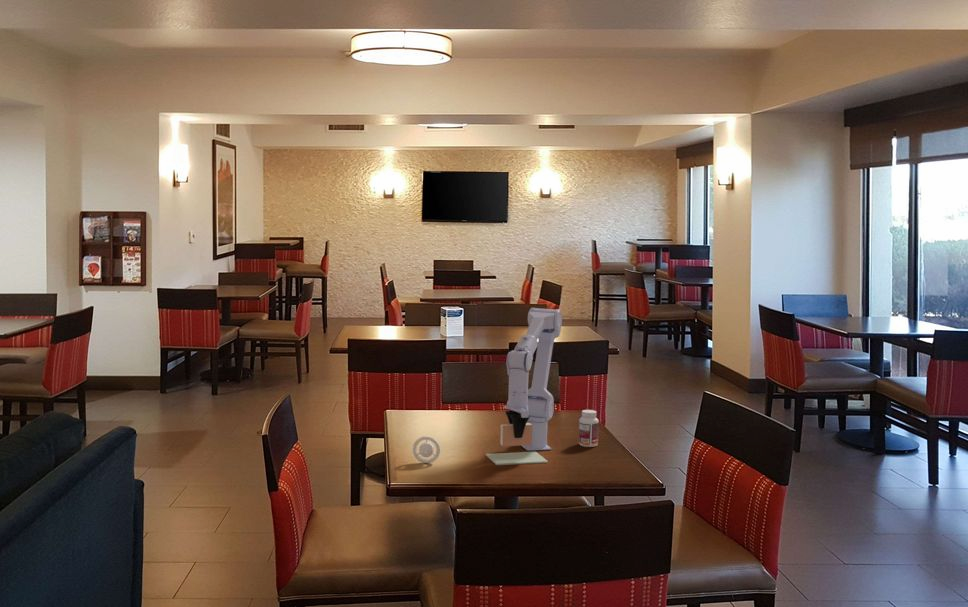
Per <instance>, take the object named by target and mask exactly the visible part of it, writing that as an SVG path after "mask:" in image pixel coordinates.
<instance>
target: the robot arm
mask: <svg viewBox="0 0 968 607" xmlns="http://www.w3.org/2000/svg"><path fill="white" fill-rule="evenodd" d="M562 323H563V316H562V311H561V310H560V309H559V308H558V309H553V308H538V307H537V308H536V307H531V308H530V309H529V311H528V313H527V324H528V327H527V330H526V333H525V334H523V335H521V337H520V338H519V339H518V342H517V344H516V345H515V347H514V350H511V351H509V352H508V353H507V356H506V360H505V361H506V370H507V374H506V375H507V376H508V400H507V401H506V405H504V406H503V408H504V409H505V410H507V411H505V412H504V413H505V414H506V417H507V420H508V424H513V428H514V436H515V438H522V436H523V432H524V429H525V425H526V423H530V424H532V445H520V446H521V447H522V448H523V449H525V450H526V452H533V451H549V450H550V451H551V450H552V447H550V446H549V445H548V422H549V421H550V420H551V419H552V418H553V415H554V412H555V410H554V409H555V406H554V402H555V399H554V395H553V394H552V393H551V392H550V391H549V390H547V388H548V381H549V376H550V369H551V368H550V367H551V363H552V362H551V361H552V356H553V349H554V343H555V339H557V338H559V337H560V334H561V331H562ZM535 351H536V355H535V361H534V368H533V375H532V380H531V387H530V388H529V375H530V374H529V371H530V370H531V368H532V366H533V365H532V364H533V360H534V353H535Z"/></svg>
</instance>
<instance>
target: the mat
mask: <svg viewBox="0 0 968 607" xmlns="http://www.w3.org/2000/svg"><path fill="white" fill-rule="evenodd" d="M485 456H486V457H487V458H488V459H489V460H490V461H491V462H492V463H493V464H494V465H495V466H504V465H505V466H507V465H508V466H509V465H527V464H544V463H548V462H549V461H548V460H547V459H546V458H545V457H544V456H542V455H541V454H539V453H538V452H537V451H521V452H520V451H519V452H518V451H517V452H502V453H501V452H499V453H496V452H495V453H486V454H485Z"/></svg>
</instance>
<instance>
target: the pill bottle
mask: <svg viewBox="0 0 968 607" xmlns="http://www.w3.org/2000/svg"><path fill="white" fill-rule="evenodd" d="M599 423H600V422H599V419H598V418H597V410H593V409H583V410H581V417H580V418H579V420H578V426H579V427H578V445H580V446H581V447H584V448H594V447H597V446H598V444H599Z"/></svg>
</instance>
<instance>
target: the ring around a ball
mask: <svg viewBox="0 0 968 607" xmlns="http://www.w3.org/2000/svg"><path fill="white" fill-rule="evenodd" d="M422 441H423V442H422ZM424 441H425V442H424ZM428 441H429V442H428ZM421 442H422V443H421ZM430 442H431V443H430ZM420 443H421V444H420ZM419 444H420V445H419ZM433 444H434V446H435V447H434V446H433ZM418 445H419V448H418ZM417 448H418V451H419V452H417ZM434 448H436V451H435V453H434V450H435V449H434ZM412 453H413V456H414V458H415V459H416V460H417V461H418V462H420V463H423V464H430V463H433V462H435V461H436V460H437V459H438V458H439V456H440V453H441V446H440V444H439V442H438V441H437V440H436V439H435V438H434V437H431V436H421V437H419V438H417V440H416V441H415V442H414V443H413V446H412ZM419 455H421V457H420V456H419ZM432 455H433V457H432ZM422 457H423V458H422ZM429 457H431V458H429ZM424 458H428V459H424Z"/></svg>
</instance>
